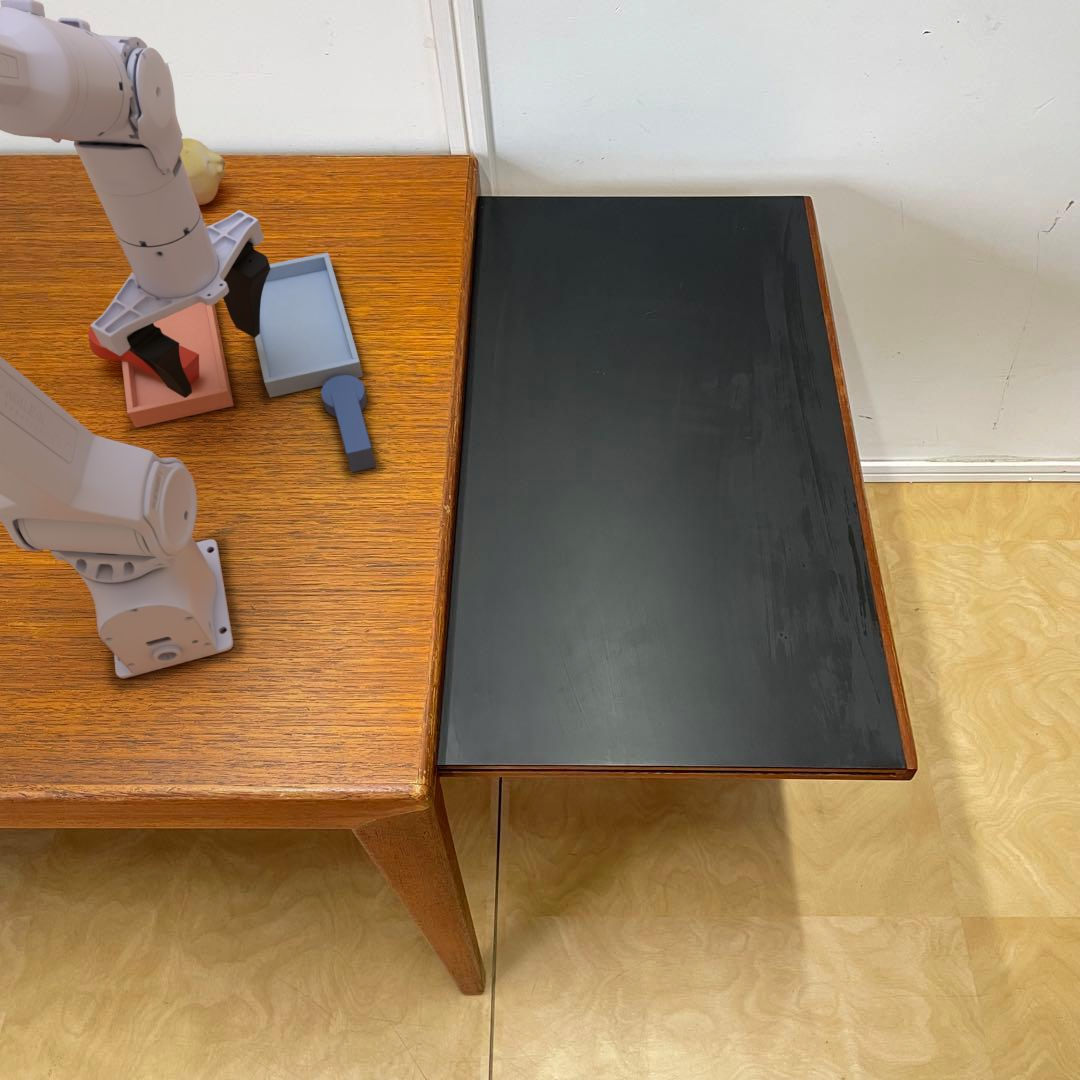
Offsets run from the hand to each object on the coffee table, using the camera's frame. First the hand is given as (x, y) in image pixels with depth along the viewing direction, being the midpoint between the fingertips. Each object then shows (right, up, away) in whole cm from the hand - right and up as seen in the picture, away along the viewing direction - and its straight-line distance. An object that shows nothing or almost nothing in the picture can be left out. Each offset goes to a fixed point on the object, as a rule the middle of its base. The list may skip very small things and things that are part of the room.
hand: (214, 359), depth 73 cm
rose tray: (-6, +2, +7) cm, 9 cm away
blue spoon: (+10, -5, +3) cm, 12 cm away
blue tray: (+5, +4, +9) cm, 11 cm away
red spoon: (-8, +1, +4) cm, 9 cm away
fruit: (-9, +19, +18) cm, 28 cm away
